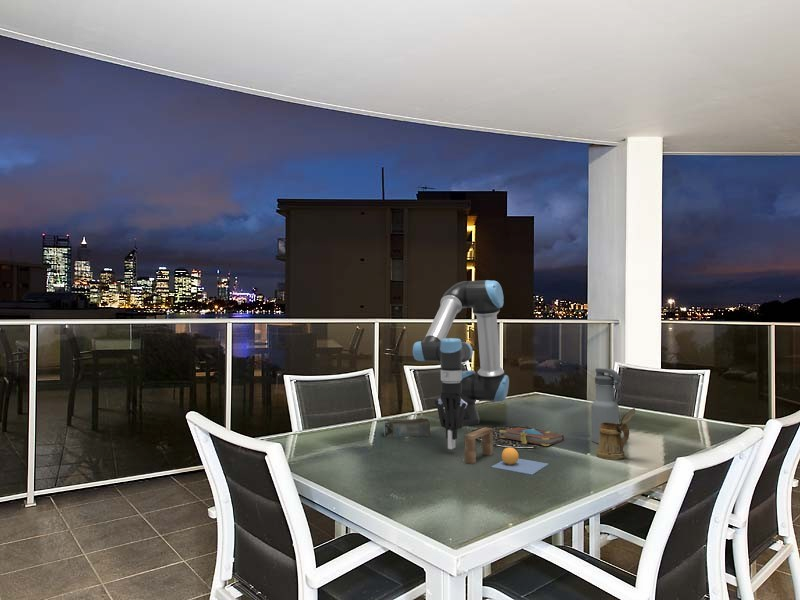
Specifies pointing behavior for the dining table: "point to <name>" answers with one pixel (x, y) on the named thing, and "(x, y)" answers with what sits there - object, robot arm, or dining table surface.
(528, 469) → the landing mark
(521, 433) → the book
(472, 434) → the bridge
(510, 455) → the ball
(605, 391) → the water bottle
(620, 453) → the wooden mug
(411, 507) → the dining table surface
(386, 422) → the beverage carton
